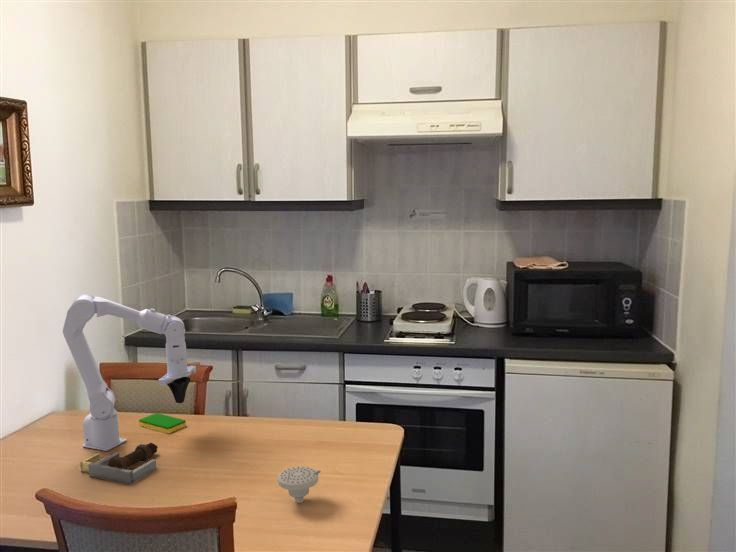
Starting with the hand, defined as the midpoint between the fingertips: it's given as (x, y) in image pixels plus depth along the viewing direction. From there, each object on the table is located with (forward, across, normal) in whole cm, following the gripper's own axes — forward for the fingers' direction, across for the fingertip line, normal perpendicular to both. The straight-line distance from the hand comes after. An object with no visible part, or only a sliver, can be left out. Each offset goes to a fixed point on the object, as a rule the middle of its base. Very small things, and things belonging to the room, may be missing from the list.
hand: (179, 402), depth 195 cm
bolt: (+10, -22, -2) cm, 24 cm away
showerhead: (+10, -24, -54) cm, 60 cm away
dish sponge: (+11, +3, +10) cm, 15 cm away
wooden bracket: (+10, -27, +6) cm, 29 cm away
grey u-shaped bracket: (+10, -26, -2) cm, 28 cm away
